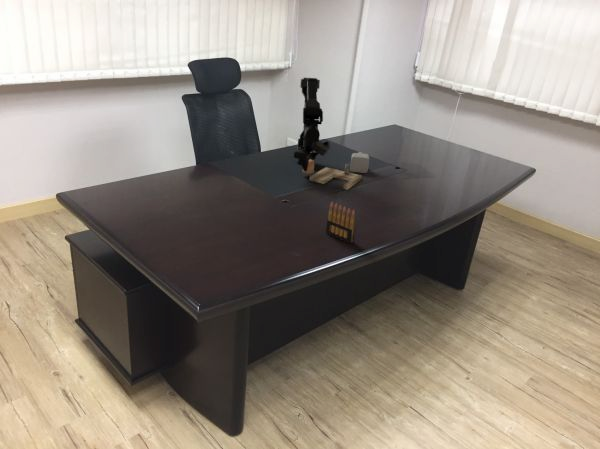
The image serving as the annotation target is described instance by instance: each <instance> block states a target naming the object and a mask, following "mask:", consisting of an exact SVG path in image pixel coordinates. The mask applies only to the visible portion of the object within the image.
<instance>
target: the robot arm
mask: <svg viewBox="0 0 600 449" xmlns="http://www.w3.org/2000/svg"><path fill="white" fill-rule="evenodd" d="M320 82H321V81H320V79H318V78H317V77H303V78H300V85H299V86H300V89H301V94H302V96H303V97H304V106H303V109H302V124H303V127H302V128H303V130H302V132H301V133H300V135H299V138H298V140H297V150H296V151H294V152H293V158H294V159H297V160H298V161H297V162H296V164H298V165H301V166H302V170H303V169H304V171H307V168H308V162H309V160H310V159H311V160H314V163H315V162H316V159H317V156H318V155H320V156H322V157H324V156H325V155H327V154H328V152H329V150H331V145H330V141H327V140H326V141H320V137H321V136H320V134H321V133H320V130H319V125H323V124H322V123H323V122H324V111H323V109H322V107H321V103H320V102H319V101H318V98H317V93H318V90H319V89H320V84H321V83H320Z"/></svg>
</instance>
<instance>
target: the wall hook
mask: <svg viewBox="0 0 600 449" xmlns="http://www.w3.org/2000/svg"><path fill="white" fill-rule="evenodd" d="M369 165H370V155H369V154H368V153H363V152H362V151H358V152H353V153H352V154H351V159H350V168H349V171H351V173H363V174H366V173H368V172H369Z"/></svg>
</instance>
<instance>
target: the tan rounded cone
mask: <svg viewBox="0 0 600 449" xmlns="http://www.w3.org/2000/svg"><path fill="white" fill-rule="evenodd" d="M301 171H302V173H303V174H308V175H310V174H312V175H313V174H315V173H314V172H315V162H314V160H311V159H310V160H309V162H308V168H307V171H304V169H303V168H302V170H301Z"/></svg>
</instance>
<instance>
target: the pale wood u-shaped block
mask: <svg viewBox="0 0 600 449" xmlns="http://www.w3.org/2000/svg"><path fill="white" fill-rule="evenodd" d="M350 166H351V163H346V164H345V166H344V170H340V169H336V168H331V167H327V166H324V168H322V169H320V170H319V171H317V172H315V173H313V174H312V175H310V176H309V181H311V182H314V183H319V184H323V185H325V184H327V183H328V182H329V181H331V180H332V179H333V178H335V179H340V180H343V181H347V182H345V183H344V184H343V187H342V188H343V190H347V191H348V190H349V189H350V188H352V187H353V186H355V185H356V184H358V182H360V181H361V180H362V178H363V175H361V174H357V173H355V172H350Z"/></svg>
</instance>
